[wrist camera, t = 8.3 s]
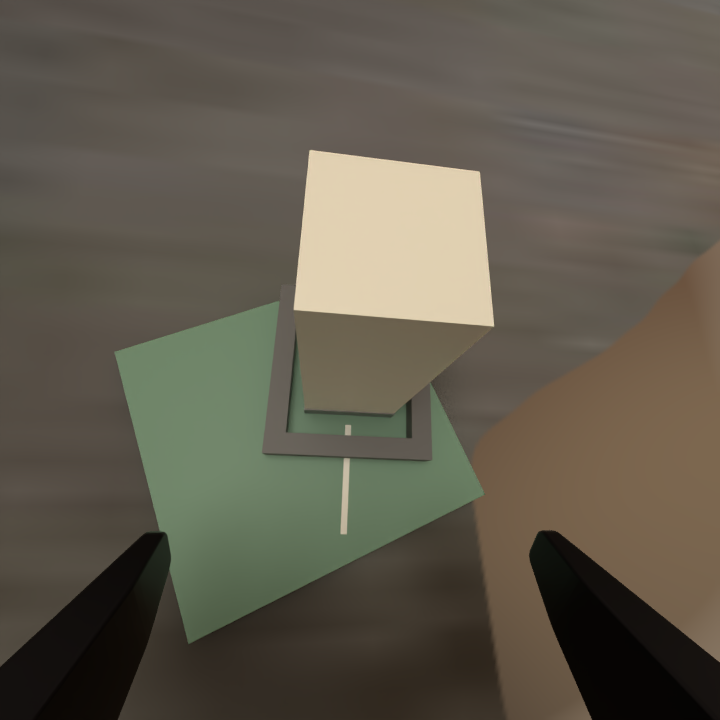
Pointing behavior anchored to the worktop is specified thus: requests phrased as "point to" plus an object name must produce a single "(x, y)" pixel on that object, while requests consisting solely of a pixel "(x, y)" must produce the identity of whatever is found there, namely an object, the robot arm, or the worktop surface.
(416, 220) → the plug
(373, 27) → the worktop surface
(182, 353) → the board
